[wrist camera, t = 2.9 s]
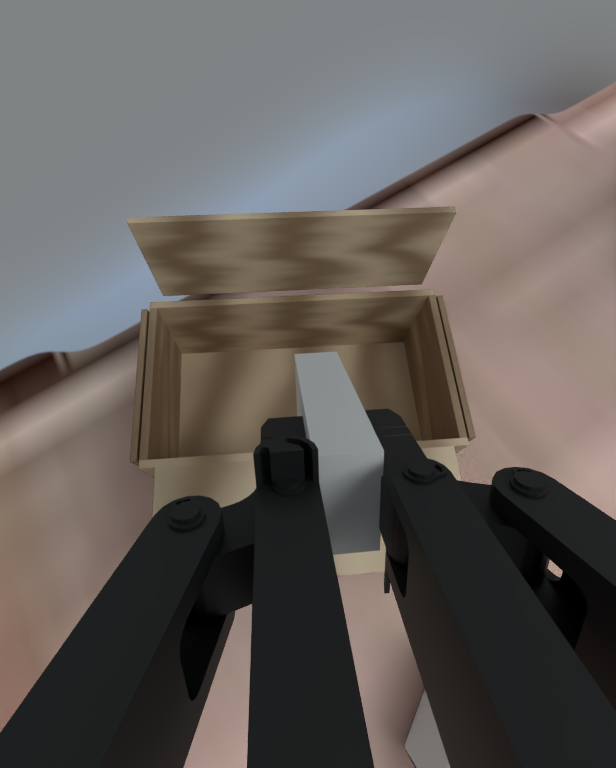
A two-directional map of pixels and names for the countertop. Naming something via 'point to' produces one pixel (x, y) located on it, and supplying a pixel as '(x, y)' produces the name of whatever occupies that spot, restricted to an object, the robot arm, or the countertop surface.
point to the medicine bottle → (425, 739)
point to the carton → (285, 384)
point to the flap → (290, 249)
